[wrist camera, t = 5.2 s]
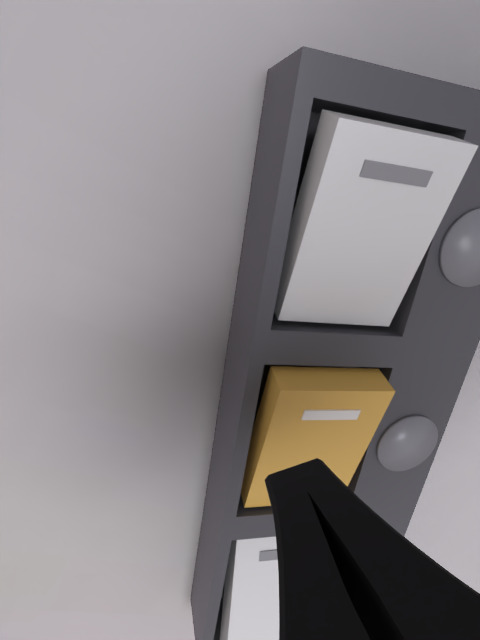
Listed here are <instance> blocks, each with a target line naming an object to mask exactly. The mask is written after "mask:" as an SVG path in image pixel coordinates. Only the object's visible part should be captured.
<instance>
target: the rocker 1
mask: <svg viewBox="0 0 480 640" xmlns="http://www.w3.org/2000/svg"><path fill="white" fill-rule="evenodd" d="M220 640H279V573H278V557H277V544H276V536H275V537H264V538H253V539H243V540H232V542H231V547H230V553H229V558H228V564H227V569H226V574H225V585H224V596H223V608H222V619H221V630H220Z"/></svg>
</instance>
